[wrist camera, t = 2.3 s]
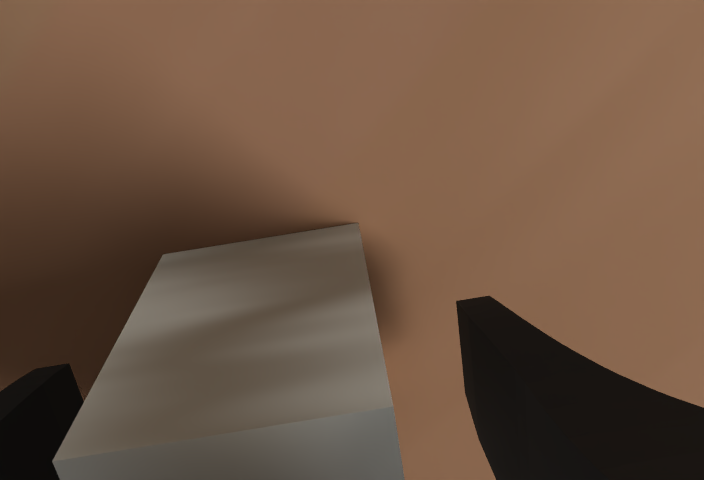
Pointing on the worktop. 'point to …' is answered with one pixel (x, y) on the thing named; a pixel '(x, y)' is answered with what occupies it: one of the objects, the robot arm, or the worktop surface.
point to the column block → (245, 371)
